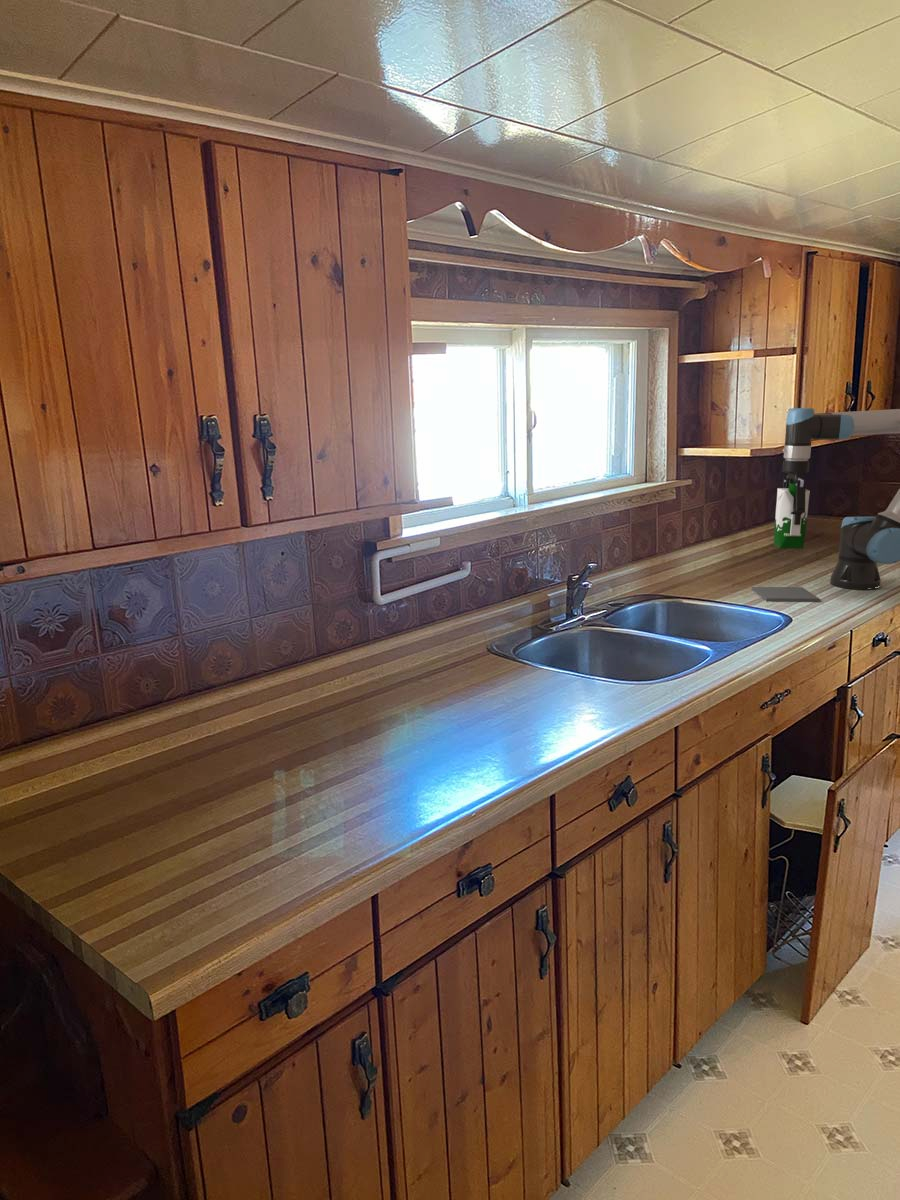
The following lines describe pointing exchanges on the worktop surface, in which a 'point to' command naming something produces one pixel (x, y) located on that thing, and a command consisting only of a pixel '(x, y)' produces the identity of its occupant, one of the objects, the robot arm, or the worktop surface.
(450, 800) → the worktop surface
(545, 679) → the worktop surface
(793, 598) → the charcoal mat
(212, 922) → the worktop surface
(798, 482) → the robot arm
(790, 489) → the soya milk
